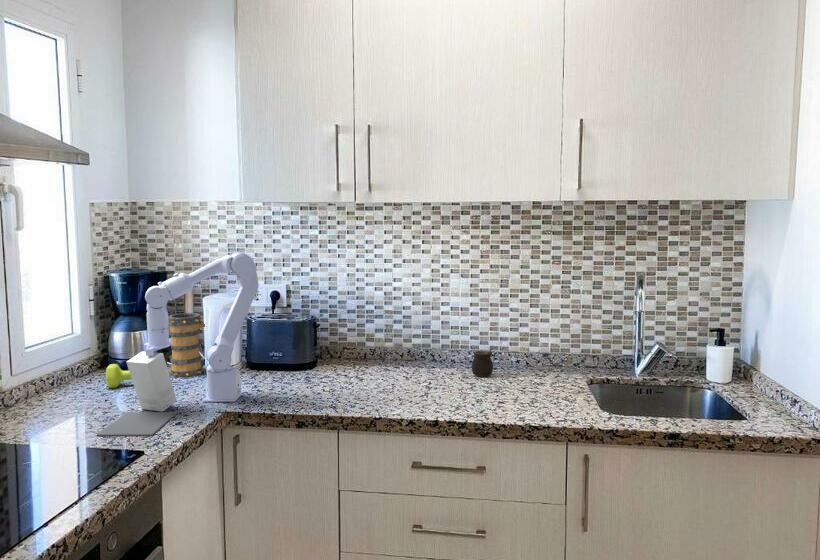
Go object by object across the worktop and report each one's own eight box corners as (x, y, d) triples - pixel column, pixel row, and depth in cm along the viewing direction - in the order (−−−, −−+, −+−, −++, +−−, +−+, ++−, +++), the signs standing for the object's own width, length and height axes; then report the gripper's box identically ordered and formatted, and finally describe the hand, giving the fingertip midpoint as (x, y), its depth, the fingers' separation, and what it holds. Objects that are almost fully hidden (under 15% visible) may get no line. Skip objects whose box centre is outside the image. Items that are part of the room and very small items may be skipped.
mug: (166, 370, 239) (163, 313, 236) (218, 366, 244) (215, 310, 242) (167, 380, 227) (163, 320, 224) (221, 374, 232) (218, 316, 230)
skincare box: (177, 401, 198) (165, 352, 192) (161, 413, 192) (148, 363, 187) (155, 397, 201) (142, 350, 196) (138, 409, 195) (125, 360, 190)
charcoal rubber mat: (177, 413, 192) (177, 411, 192) (152, 435, 174) (151, 434, 174) (127, 413, 192) (127, 412, 192) (96, 436, 174) (96, 434, 174)
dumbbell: (163, 380, 226) (162, 359, 226) (160, 387, 219) (158, 365, 218) (110, 384, 223) (108, 362, 222) (104, 390, 215) (103, 368, 214)
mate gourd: (474, 372, 232) (474, 343, 231) (496, 374, 230) (496, 344, 229) (468, 377, 226) (468, 347, 224) (491, 379, 223) (491, 349, 222)
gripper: (154, 323, 204) (156, 368, 206) (133, 333, 190) (136, 381, 191) (177, 323, 204) (180, 368, 205) (158, 333, 189) (161, 381, 191)
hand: (160, 374), depth 198 cm, fingers closed
